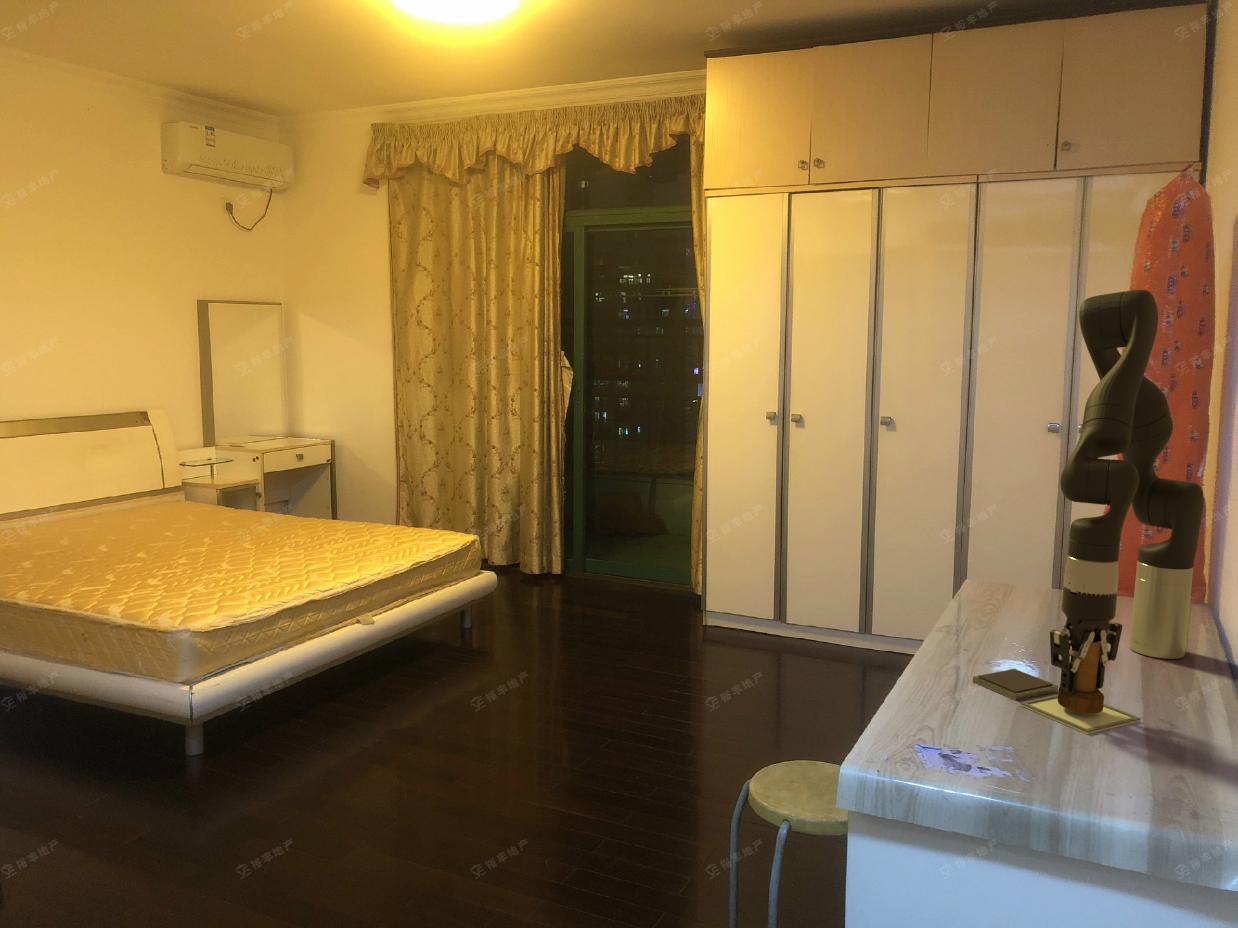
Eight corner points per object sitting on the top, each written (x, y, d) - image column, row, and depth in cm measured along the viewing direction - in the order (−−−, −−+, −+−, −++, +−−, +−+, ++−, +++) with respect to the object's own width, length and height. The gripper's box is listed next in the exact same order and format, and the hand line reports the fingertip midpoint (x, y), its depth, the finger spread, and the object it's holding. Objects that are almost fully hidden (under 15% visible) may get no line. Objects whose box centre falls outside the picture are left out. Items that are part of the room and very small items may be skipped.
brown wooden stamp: (1108, 715, 144) (1118, 602, 142) (1063, 711, 145) (1072, 599, 143) (1096, 699, 151) (1105, 590, 148) (1053, 696, 152) (1061, 588, 150)
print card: (1072, 694, 156) (1072, 691, 156) (1140, 721, 145) (1140, 717, 145) (1020, 705, 151) (1020, 702, 151) (1087, 734, 140) (1087, 730, 140)
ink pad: (1014, 673, 165) (1014, 667, 165) (1057, 691, 157) (1058, 684, 157) (972, 681, 161) (973, 675, 161) (1015, 700, 153) (1015, 693, 153)
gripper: (1099, 575, 152) (1091, 675, 154) (1037, 584, 146) (1029, 688, 148) (1143, 587, 145) (1133, 691, 148) (1080, 596, 139) (1070, 705, 141)
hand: (1081, 689), depth 148 cm, fingers closed on brown wooden stamp, 5 cm apart
